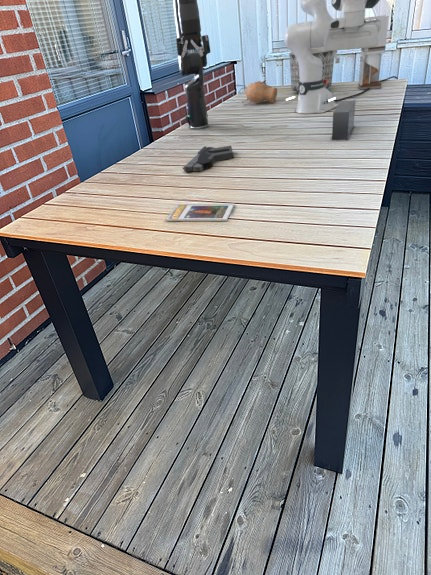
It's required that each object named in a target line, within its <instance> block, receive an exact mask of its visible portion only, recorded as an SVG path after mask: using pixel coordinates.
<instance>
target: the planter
mask: <svg viewBox="0 0 431 575" xmlns="http://www.w3.org/2000/svg"><path fill="white" fill-rule="evenodd" d="M310 53H311V54H312V55H313V56H315V57H317V58H319V59H320V60H321V61H322V64H323V68H322V79H323V80H324V79H328V84H324V85H325V88H326V89H327V90H328V89H329V88H331V87H332V85H333V84H332V82H333V81H332V80H333V73H334V64H335V57H334V55H333V51H325V50H324V47H321V48H311V49H310ZM288 56H289V69H290V83H291V84H290V86H291V90H292V91H294V92H298V93H299V89H298V84H299V64H298V61H297V58H296V56H295V55H294V53H293V52H292V51H290V52H289V54H288Z"/></svg>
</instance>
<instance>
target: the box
mask: <svg viewBox="0 0 431 575" xmlns="http://www.w3.org/2000/svg"><path fill="white" fill-rule="evenodd" d="M356 101H357V100H356V99H352V100H341V101H339V102H338V106H337V107H336V108H334V110H333V112H332V127H331V129H332V131H331V140H332V141H348V140H349V137H350V135H351V133H352V131H353V128H354V127H355V116H356V114H355V113H356Z"/></svg>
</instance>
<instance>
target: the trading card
mask: <svg viewBox="0 0 431 575" xmlns="http://www.w3.org/2000/svg"><path fill="white" fill-rule="evenodd" d="M234 207H235V203H176V206H175V207H173V209H172V211H171V212H170V213H169V214H168V216H167V218H166V221H167V222H227V221H228V220H229V217H230V216H231V214H232V211H233V209H234Z"/></svg>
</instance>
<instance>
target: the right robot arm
mask: <svg viewBox="0 0 431 575" xmlns="http://www.w3.org/2000/svg"><path fill="white" fill-rule="evenodd" d="M380 1H381V0H331V6H332V7H333V8H334V10H335V11H337V12H340V16H339V17H336V18H335V19H334V18H333V17H332V15H331V14H330V13H329V11H328V7H327V0H300V9H301V10H302V11H303V12H304V13H305V14H306V15H307V14H308V15H310V16H312V17H313V19H312V20H311V21H303V22H296V23H294V24H291V25H288V26H287V27H286V28H285V31H284V33H283V43H284V45H285V48H287V49H288V50H289V51H290V52H293V53H294V55H295V56H296V58H297V61H298V64H299V84H298V89H299V92H298V95H297V105H296V110H295V112H296V113H298V114H304V115H305V114H306V115H307V114H321V113H322V114H323V113H326V112H328V111H331V110H333V109H336V108H337V106H338V105H339V103H337V102H341V101H345V100H346V99H347V100H348V99H350V98H354V97H357V96H360V95H362V94H364V93H365V92H367V91H369V90H371V89H370V88H368V89H364V90H362V91H361V92H358V93H356V94H352V95H349V96H346V97H343V98H339V99H336V97H335V95H334V93H332V92H331V91H330V90H328V88H327V89H326V88H325V85H324V84H328V79H324V80H323V79H322V68H323V64H322V61H321V60H320V59H319V58H317V57H315V56H313V55H312V54H311V53H310V49H311V48H324V50H325V51H333V55H334V64H341V63H340V61H341V60H340V59H341V58H340V57H338V55H337V53H338V51H345V50H357V49H361V48H364V51H365V53H364V55H363V56H361V55H360V58H359V63H360V62H362V61H364V59H365V55H366V53H367V52H368V48H371V47H376V46H377V45H378V43H379V31H380V29H381V21H380V20H377V19H376V18H375V19H366V20H365V18H366V9H373V8H374V7H376V5H377V4H378V3H379V2H380ZM377 21H379V22H377ZM370 22H371V23H370ZM364 23H365V24H364ZM390 79H396V80H398V77H397V76H395V75H392V76H390V77H387V78H383V79H381V80H379V82H380V83H382V82H385V81H388V80H390ZM295 98H296V96H295V95H294V96H290V97H288V98H286V99H285V101H289V100H293V99H295Z"/></svg>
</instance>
